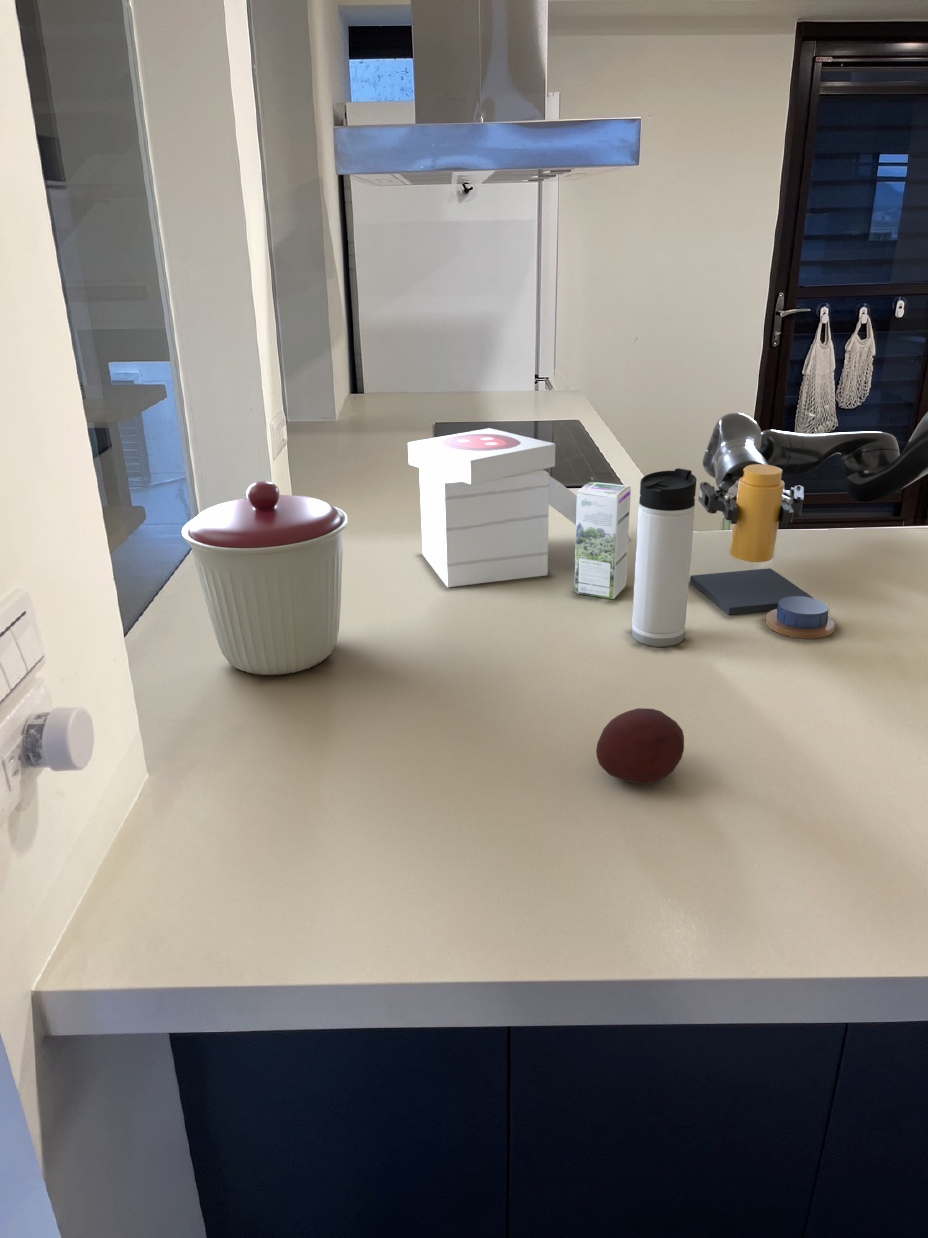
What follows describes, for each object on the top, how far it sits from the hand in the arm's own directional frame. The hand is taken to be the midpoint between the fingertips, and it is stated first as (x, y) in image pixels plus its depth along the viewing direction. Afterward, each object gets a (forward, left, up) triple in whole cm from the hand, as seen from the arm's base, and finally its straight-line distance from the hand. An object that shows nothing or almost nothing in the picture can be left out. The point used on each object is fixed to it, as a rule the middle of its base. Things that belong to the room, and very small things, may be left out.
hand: (760, 517), depth 115 cm
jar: (-1, -3, -6) cm, 6 cm away
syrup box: (+18, -8, -11) cm, 23 cm away
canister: (+61, +3, -11) cm, 62 cm away
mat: (-1, -2, -11) cm, 12 cm away
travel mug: (+16, +8, -11) cm, 21 cm away
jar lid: (-2, +9, -9) cm, 13 cm away
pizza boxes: (+26, -23, -11) cm, 37 cm away
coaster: (-2, +9, -11) cm, 14 cm away
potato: (+29, +36, -11) cm, 48 cm away
